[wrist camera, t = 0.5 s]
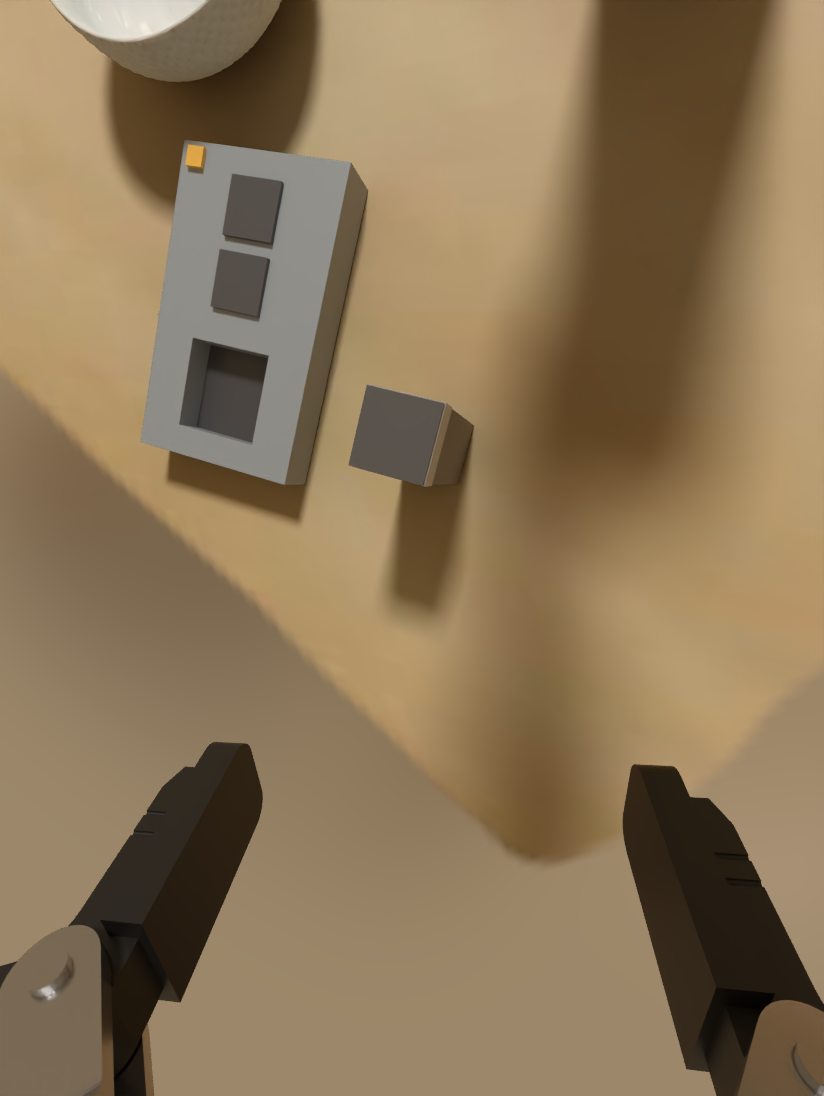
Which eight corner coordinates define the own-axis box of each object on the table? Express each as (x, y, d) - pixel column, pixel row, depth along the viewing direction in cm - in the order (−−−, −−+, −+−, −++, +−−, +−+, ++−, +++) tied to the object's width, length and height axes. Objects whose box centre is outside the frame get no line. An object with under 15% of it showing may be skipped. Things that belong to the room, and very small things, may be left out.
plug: (417, 410, 34) (366, 383, 24) (474, 425, 33) (445, 402, 24) (402, 469, 35) (347, 465, 25) (458, 485, 34) (423, 486, 24)
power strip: (213, 167, 36) (181, 136, 32) (367, 190, 33) (348, 159, 30) (169, 444, 39) (137, 441, 36) (305, 484, 37) (282, 485, 34)
